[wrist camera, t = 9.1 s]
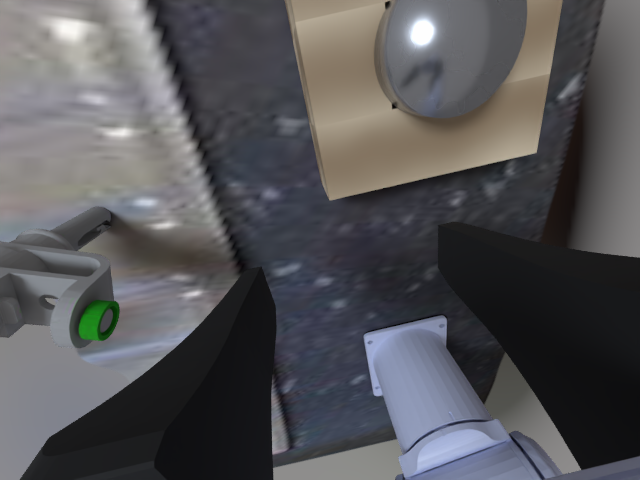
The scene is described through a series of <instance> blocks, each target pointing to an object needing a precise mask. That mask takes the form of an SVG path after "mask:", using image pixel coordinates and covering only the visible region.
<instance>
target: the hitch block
mask: <svg viewBox="0 0 640 480" xmlns="http://www.w3.org/2000/svg"><path fill="white" fill-rule="evenodd" d="M390 1H391V0H285V4H286V9H287V14H288V19H289V24H290V29H291V34H292V39H293V44H294V48H295V53H296V58H297V63H298V68H299V73H300V78H301V83H302V88H303V93H304V98H305V103H306V108H307V113H308V118H309V123H310V128H311V133H312V138H313V143H314V148H315V153H316V158H317V163H318V168H319V173H320V177H321V182H322V184H323V187H324V189H325V191H326V193H327V196H328V198H329V200H334V199H339V198H343V197H347V196H352V195H356V194H360V193H365V192H369V191H373V190H378V189H382V188H386V187H391V186H395V185H399V184H404V183H408V182H412V181H417V180H421V179H425V178H430V177H434V176H438V175H443V174H447V173H451V172H456V171H460V170H464V169H469V168H473V167H477V166H482V165H486V164H490V163H495V162H499V161H503V160H508V159H512V158H516V157H521V156H525V155H529V154H534V153H536V152H537V146H538V141H539V135H540V129H541V123H542V117H543V112H544V106H545V100H546V94H547V88H548V82H549V77H550V71H551V65H552V59H553V53H554V48H555V42H556V36H557V30H558V24H559V19H560V13H561V7H562V1H563V0H527V24H526V30H525V36H524V40H523V43H522V47H521V50H520V52H519V55H518V58H517V60H516V62H515V64H514V66H513V68H512V70H511V71H510V73H509V75H508V76H507V78H506V79H505V81H504V82H503V84H502V85H501V86H500V87H499V88H498V90H497V91H496V92H495V93H494V94H493V95H492V96H491V97H490V98H489V99H488V100H487V101H485V102H484V103H483V104H481V105H480V106H479V107H477V108H475V109H474V110H472V111H470V112H468V113H465V114H463V115H460V116H456V117H451V118H433V117H423V116H415V115H411V114H408V113H405V112H403V111H401V110H399V109H398V108H397V107H395V106H394V105H393V104H392V103H391V102H390V101H389V100H388V99H387V97H386V96H385V94H384V93H383V91H382V89H381V87H380V85H379V82H378V79H377V76H376V72H375V65H374V45H375V38H376V33H377V29H378V26H379V23H380V20H381V18H382V15H383V13H384V11H385V9H386V7H387V5H388V4H389V2H390Z"/></svg>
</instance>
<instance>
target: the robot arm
mask: <svg viewBox="0 0 640 480" xmlns="http://www.w3.org/2000/svg"><path fill="white" fill-rule="evenodd" d="M438 268H439V270H440V271H441V273H442V275H443V276H444V278H445V279H446V281H447V282H448V284H449V285H450V287H451V288H452V289H453V290H454V291H455V293H456V294H457V295H458V296H459V297H460V298H461V299H462V301H463V302H464V303H465V304H466V305H467V306H468V307H469V308H470V310H471V311H472V312H473V313H474V314H475V315H476V316H477V317H478V318H479V320H480V321H481V322H482V323H483V324H484V325H485V326H486V327H487V329H488V330H489V331H490V332H491V333H492V335H493V336H494V337H495V338H496V339H497V341H498V342H499V343H500V345H501V346H502V347H503V349H504V350H505V352H506V353H507V354H508V356H509V357H510V358H511V360H512V361H513V363H514V364H515V365H516V367H517V368H518V370H519V371H520V373H521V374H522V376H523V377H524V378H525V380H526V381H527V383H528V384H529V386H530V387H531V389H532V390H533V392H534V393H535V395H536V396H537V398H538V399H539V401H540V402H541V404H542V406H543V407H544V409H545V410H546V412H547V413H548V415H549V417H550V418H551V420H552V421H553V423H554V425H555V426H556V428H557V429H558V431H559V433H560V434H561V436H562V437H563V439H564V441H565V443H566V444H567V446H568V448H569V449H570V451H571V453H572V454H573V456H574V458H575V459H576V461H577V463H578V465H579V466H580V468H581V470H580V471H576V472H572V473H568V474H562V472H561V471H560V470H559V468H558V467H557V466H556V465H555V463H554V462H553V461H552V459H551V458H550V457H549V456H548V455H547V453H546V452H545V451H544V450H543V449H542V448H541V447H540V446H539V445H538V444H537V443H536V442H535V441H534V440H533V439H531V438H529V437H527V436H525V435H523V434H522V433H520V432H518V431H514V432H511V433H509V434H508V433H507V431H506V430H505V428H504V427H503V425H502V424H501V422H500V421H499V419H494V420H493V418H492V417H491V415H490V414H489V412H488V411H487V409H486V408H485V406H484V405H483V403H482V401H481V400H480V398H479V397H478V395H477V394H476V392H475V391H474V389H473V388H472V386H471V385H470V383H469V382H468V380H467V379H466V377H465V375H464V374H463V372H462V371H461V369H460V368H459V366H458V365H457V363H456V362H455V360H454V359H453V357H452V356H451V354H450V353H449V351H448V350H447V348H446V336H447V319H446V318H445V316H443V315H441V316H436V317H432V318H427V319H423V320H419V321H415V322H410V323H406V324H402V325H398V326H393V327H389V328H385V329H381V330H376V331H372V332H368V333H366V334H365V335H364V342H365V348H366V354H367V360H368V365H369V371H370V377H371V382H372V388H373V393H374V395H375V396H381V395H383V397H384V400H385V403H386V406H387V409H388V412H389V415H390V418H391V421H392V424H393V427H394V430H395V433H396V436H397V439H398V441H399V445H400V447H401V451H402V454H403V455H401V456H399V458H398V459H399V462H400V465H401V468H402V471H403V474H400V475H397V476H396V479H395V480H640V258H637V257H628V256H618V255H610V254H601V253H594V252H587V251H581V250H575V249H568V248H562V247H557V246H552V245H547V244H542V243H538V242H533V241H529V240H525V239H520V238H516V237H512V236H509V235H505V234H501V233H497V232H494V231H490V230H486V229H483V228H479V227H475V226H471V225H467V224H463V223H458V222H450V223H446V224H442V225H438ZM275 340H276V307H275V303H274V300H273V298H272V295H271V292H270V289H269V287H268V284H267V281H266V278H265V276H264V273H263V270H262V267H257V268H252V269H248V270H246V271H245V272H244V273H243V274H242V275H241V276H240V278H239V279H238V280H237V282H236V283H235V284H234V285H233V287H232V288H231V289H230V290H229V292H228V293H227V294H226V295H225V296H224V298H223V299H222V300H221V301H220V303H219V304H218V305H217V306H216V307H215V308H214V309H213V310H212V312H211V313H210V314H209V315H208V316H207V317H206V318H205V319H204V321H203V322H202V323H201V324H200V325H199V326H198V327H197V328H196V329H195V330H194V331H193V332H192V333H191V334H190V335H189V336H188V337H187V338H185V339H184V340H183V341H182V342H181V343H180V344H179V345H178V346H177V347H176V348H175V349H173V350H172V351H171V352H170V353H169V354H167V355H166V356H165V357H164V358H163V359H161V360H160V361H159V362H158V363H157V364H155V365H154V366H153V367H152V368H150V369H149V370H148V371H147V372H145V373H144V374H143V375H142V376H140V377H139V378H138V379H136V380H135V381H133V382H132V383H131V384H129V385H128V386H127V387H125V388H124V389H123V390H121V391H120V392H119V393H117V394H115V395H114V396H113V397H112V398H110V399H109V400H107V401H106V402H104V403H102V404H101V405H100V406H98V407H96V408H95V409H93V410H92V411H90V412H89V413H87V414H85V415H84V416H82V417H81V418H79V419H78V420H76V421H75V422H73V423H71V424H70V425H68V426H67V427H65V428H64V429H62V430H60V431H59V432H57V433H56V434H54V435H52V436H51V437H49V439H48V440H47V441H46V443H45V444H44V446H43V447H42V448H41V450H40V451H39V453H38V454H37V456H36V457H35V459H34V460H33V461H32V463H31V464H30V466H29V467H28V469H27V470H26V472H25V473H24V474H23V476H22V477H21V479H20V480H273V460H272V425H271V387H272V374H273V363H274V352H275Z"/></svg>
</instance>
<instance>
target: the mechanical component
mask: <svg viewBox="0 0 640 480" xmlns="http://www.w3.org/2000/svg"><path fill="white" fill-rule="evenodd" d="M110 220H111V214H110V211H108V210H107V209H105V208H102V207H93V208H91V209H89V210H87V211H85V212H84V213H82V214H80V215H78V216H76V217H74V218H73V219H71V220H69V221H67V222H65V223H63V224H62V225H60V226H58V227H56V228H54V229H52V230H51V231H49V230H44V229H30V230H27V231H24V232H22V233H21V234H19V235H18V236H17V238H16V239H15V240H13V241H11V242H9V243H8V242H1V241H0V337H8V338H9V337H10V336H11V335H13V334H14V333H15V332H16V331H17V330H18V329H20V328H21V327H22V326H23V325H24V324H33V325H45V326H50V331H51V336H52V339H53V342H54V343H55V344H56V345H57V346H59V347H71V348H83V347H85V346H87V345H88V344H89V343H91V342H92V341H93V340H98V341H104V340H106V339H107V338H108V337H109V336H110V335H111V334H112V332H113V331H114V329H115V327H116V324H117V322H118V318H119V304H118V303H117V302H116V301H114V296H113V287H112V278H111V270H110V262H109V260H108V259H107V258H106V257H104V256H102V255H99V254H94V253H87V252H79V251H78V250H79V249H81V248H82V247H83V246H85V245H86V244H88V243H89V242H90V241H92V240H93V239H95V238H96V237H97V236H99V235H100V234H102V233H103V232H104V231H106V230H107V229H109V228H110V227H111V226H108V225H103V224H101V223H103V222H104V221H108V222H110ZM45 298H53V299H59V300H58V302H57V303H56V306H55V305H52V304H50V303H48V302H47V301H46V299H45Z"/></svg>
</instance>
